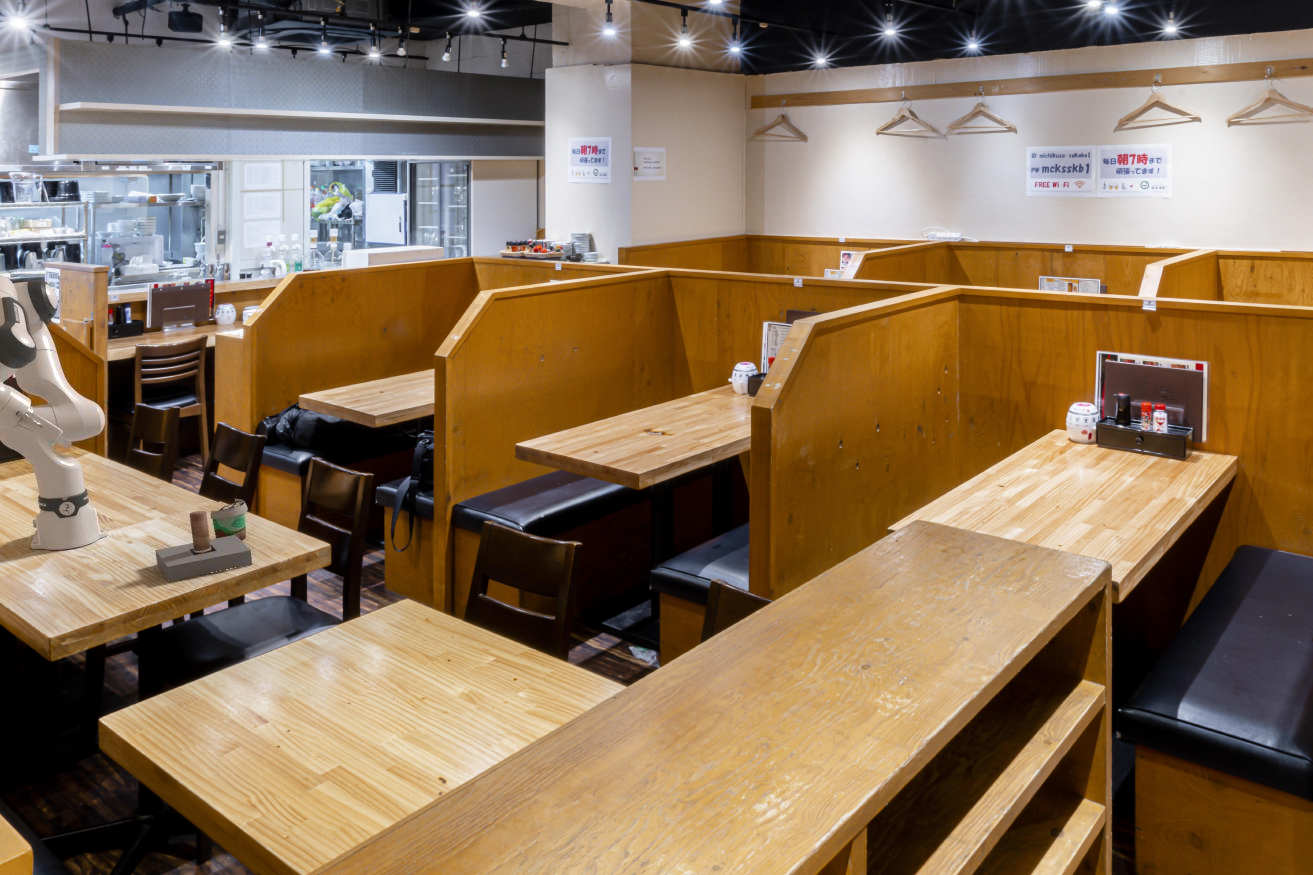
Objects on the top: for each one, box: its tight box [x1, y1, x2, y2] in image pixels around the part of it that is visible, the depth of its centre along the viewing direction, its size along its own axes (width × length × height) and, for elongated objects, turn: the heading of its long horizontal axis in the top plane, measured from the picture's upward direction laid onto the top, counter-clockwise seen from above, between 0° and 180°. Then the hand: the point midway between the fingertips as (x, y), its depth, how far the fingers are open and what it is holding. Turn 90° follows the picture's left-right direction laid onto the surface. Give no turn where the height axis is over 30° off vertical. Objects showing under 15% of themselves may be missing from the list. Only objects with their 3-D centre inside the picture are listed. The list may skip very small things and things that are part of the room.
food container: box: [210, 498, 249, 542], centre depth 291 cm, size 12×6×10 cm, turn 168°
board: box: [155, 535, 253, 583], centre depth 273 cm, size 15×20×4 cm
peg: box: [189, 510, 211, 555], centre depth 272 cm, size 4×4×14 cm
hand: (62, 442), depth 256 cm, fingers open, 8 cm apart
